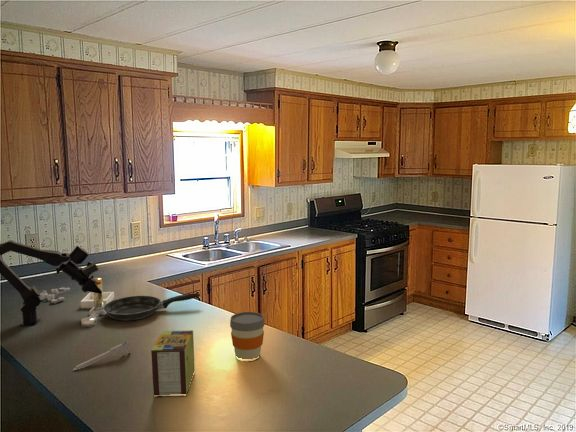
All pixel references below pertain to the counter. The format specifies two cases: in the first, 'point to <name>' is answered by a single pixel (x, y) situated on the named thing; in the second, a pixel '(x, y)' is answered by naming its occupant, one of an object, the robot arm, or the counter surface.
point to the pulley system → (53, 295)
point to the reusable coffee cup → (247, 334)
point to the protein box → (173, 362)
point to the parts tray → (89, 299)
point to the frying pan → (140, 306)
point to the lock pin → (98, 297)
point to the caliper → (106, 354)
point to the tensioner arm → (93, 316)
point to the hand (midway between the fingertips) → (101, 291)
